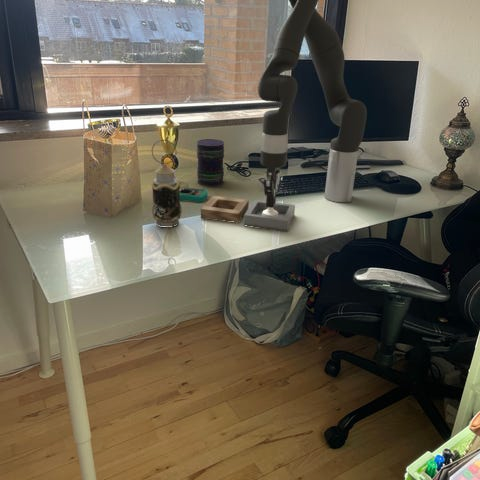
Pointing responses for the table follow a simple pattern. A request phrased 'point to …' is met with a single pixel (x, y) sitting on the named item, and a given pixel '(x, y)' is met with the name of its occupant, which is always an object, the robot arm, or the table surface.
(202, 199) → the digital multimeter
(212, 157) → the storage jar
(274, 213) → the chess piece
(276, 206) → the parts tray
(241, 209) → the socket stand
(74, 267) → the table surface
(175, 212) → the lantern
